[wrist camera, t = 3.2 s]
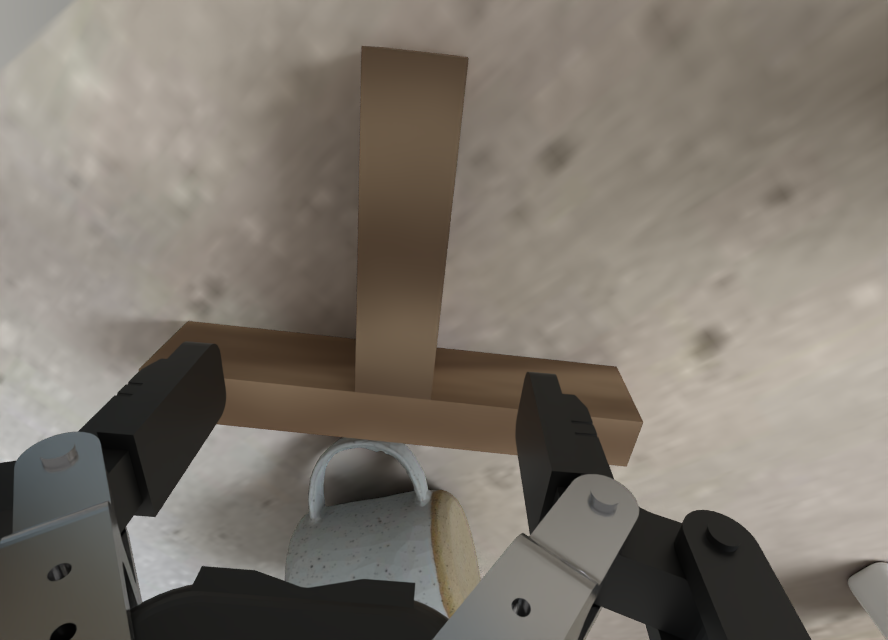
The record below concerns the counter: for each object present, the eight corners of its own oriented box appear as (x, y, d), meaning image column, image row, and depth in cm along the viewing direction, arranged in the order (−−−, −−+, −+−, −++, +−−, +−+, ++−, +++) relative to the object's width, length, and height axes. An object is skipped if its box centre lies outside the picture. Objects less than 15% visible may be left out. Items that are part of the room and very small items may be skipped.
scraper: (138, 18, 17) (54, 10, 14) (707, 84, 18) (767, 93, 14) (195, 363, 24) (149, 417, 21) (603, 406, 24) (626, 466, 21)
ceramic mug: (487, 543, 29) (492, 688, 23) (360, 568, 31) (330, 710, 24) (425, 405, 25) (409, 534, 18) (281, 441, 26) (217, 573, 20)
